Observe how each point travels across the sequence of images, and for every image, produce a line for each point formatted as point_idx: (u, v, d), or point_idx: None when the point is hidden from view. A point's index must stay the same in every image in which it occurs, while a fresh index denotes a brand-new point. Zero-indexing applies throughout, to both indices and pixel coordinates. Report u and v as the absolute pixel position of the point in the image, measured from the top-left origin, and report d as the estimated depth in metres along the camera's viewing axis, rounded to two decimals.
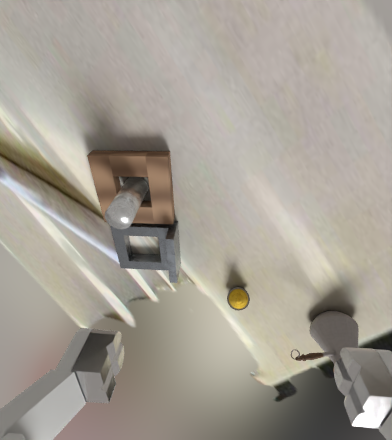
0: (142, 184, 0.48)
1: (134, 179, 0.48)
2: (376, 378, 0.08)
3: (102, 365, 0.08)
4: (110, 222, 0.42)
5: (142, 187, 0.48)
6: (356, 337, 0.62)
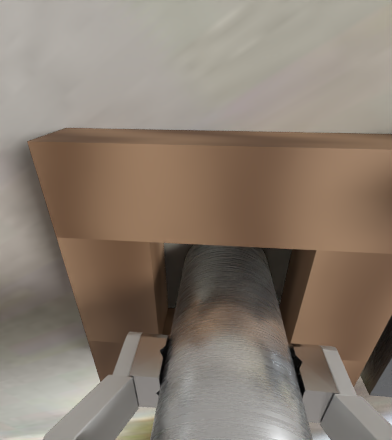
0: (198, 262, 0.12)
1: None
2: (315, 373, 0.08)
3: (159, 370, 0.08)
4: None
5: (202, 269, 0.11)
6: None
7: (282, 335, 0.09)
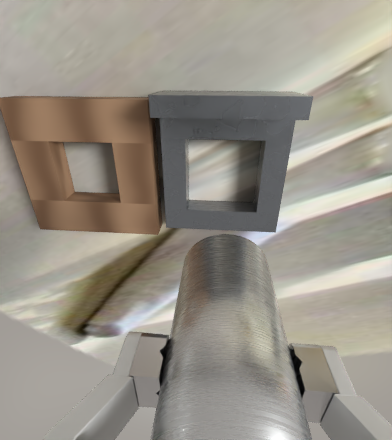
0: (198, 262, 0.12)
1: None
2: (315, 373, 0.08)
3: (159, 370, 0.08)
4: None
5: (201, 270, 0.11)
6: None
7: (282, 336, 0.09)
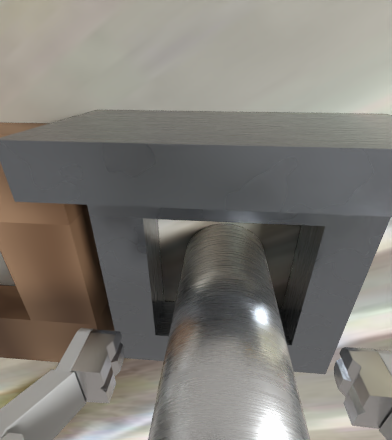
0: (199, 249, 0.12)
1: None
2: (376, 378, 0.08)
3: (102, 365, 0.08)
4: None
5: (202, 255, 0.12)
6: None
7: (275, 312, 0.10)
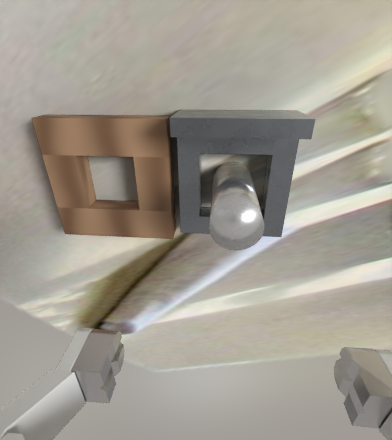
0: (221, 170, 0.28)
1: (213, 181, 0.29)
2: (376, 378, 0.08)
3: (102, 365, 0.08)
4: (246, 243, 0.22)
5: (223, 170, 0.28)
6: None
7: (252, 185, 0.26)
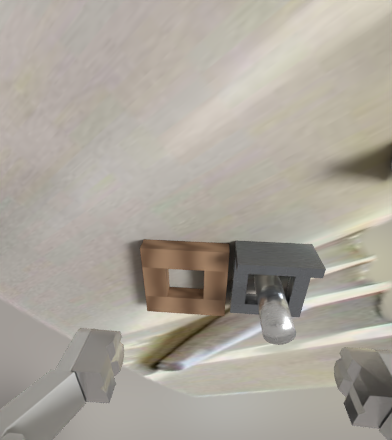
0: (261, 277, 0.43)
1: (255, 282, 0.44)
2: (376, 378, 0.08)
3: (102, 365, 0.08)
4: (284, 341, 0.36)
5: (263, 280, 0.42)
6: None
7: (284, 294, 0.40)
